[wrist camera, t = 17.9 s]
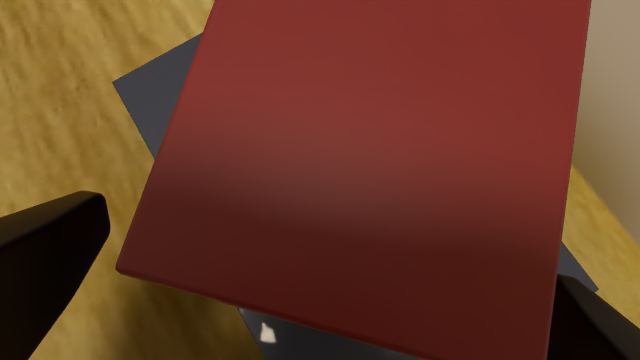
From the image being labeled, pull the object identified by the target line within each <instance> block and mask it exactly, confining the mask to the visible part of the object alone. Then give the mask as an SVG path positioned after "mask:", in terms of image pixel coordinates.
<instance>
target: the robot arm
mask: <svg viewBox="0 0 640 360" xmlns="http://www.w3.org/2000/svg"><path fill="white" fill-rule="evenodd" d="M109 233H110V220H109V215H108V209H107V204H106V200H105V197H104V196H103V195H102V194H100V193H96V192H90V191H79V192H76V193H73V194H70V195H67V196H64V197H61V198H58V199H55V200H52V201H49V202H46V203H43V204H40V205H37V206H34V207H31V208H28V209H25V210H22V211H19V212H16V213H13V214H10V215H7V216H4V217H1V218H0V360H28V359H29V358H30V356H31V355H32V354H33V352H34V351H35V349H36V348H37V347H38V345H39V344H40V343H41V341H42V340H43V338H44V337H45V336H46V334H47V333H48V332H49V330H50V329H51V327H52V326H53V325H54V323H55V322H56V321H57V319H58V318H59V316H60V315H61V314H62V312H63V311H64V310H65V308H66V307H67V305H68V304H69V302H70V301H71V299H72V298H73V296H74V295H75V293H76V291H77V290H78V288H79V286H80V285H81V283H82V281H83V280H84V278H85V276H86V274H87V273H88V271H89V269H90V267H91V266H92V264H93V262H94V261H95V259H96V257H97V255H98V254H99V252H100V250H101V248H102V247H103V245H104V243H105V242H106V240H107V238H108V236H109ZM547 360H640V329H639V328H638V327H637V326H635V325H634V324H633V323H632V322H630V321H629V320H628V319H627V318H625V317H624V316H623V315H622V314H620V313H619V312H618V311H617V310H615V309H614V308H613V307H612V306H610V305H609V304H608V303H607V302H605V301H604V300H603V299H602V298H600V297H599V296H598V295H597V294H595V293H594V292H593V291H592V290H590V289H589V288H588V287H587V286H585V285H584V284H583V283H582V282H580V281H579V280H578V279H577V278H575V277H572V276H567V275H562V274H557V280H556V288H555V296H554V304H553V312H552V320H551V328H550V336H549V344H548V352H547Z"/></svg>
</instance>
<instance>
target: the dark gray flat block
mask: <svg viewBox="0 0 640 360" xmlns="http://www.w3.org/2000/svg"><path fill="white" fill-rule="evenodd" d="M202 34H203V33H201V34H199V35H197V36H195V37H193V38H192V39H190V40H188V41H186V42H184V43H183V44H181V45H179V46H177V47H175V48H173V49H172V50H170V51H168V52H166V53H164V54H162V55H161V56H159V57H157V58H155V59H153V60H152V61H150V62H148V63H146V64H144V65H142V66H141V67H139V68H137V69H135V70H133V71H131V72H130V73H128V74H126V75H124V76H122V77H120V78H119V79H117V80H115V81H113V82H112V83H113V85H114V87H115V89H116V90H117V92H118V94H119V96H120V98H121V99H122V101H123V103H124V105H125V107H126V108H127V110H128V112H129V114H130V116H131V117H132V119H133V121H134V123H135V125H136V126H137V128H138V130H139V132H140V134H141V135H142V137H143V139H144V141H145V143H146V144H147V146H148V148H149V150H150V152H151V154H152V155H153V157H154V159H156V156H157V154H158V151H159V148H160V146H161V143H162V140H163V138H164V135H165V132H166V130H167V127H168V124H169V122H170V119H171V116H172V114H173V111H174V108H175V106H176V103H177V100H178V98H179V95H180V92H181V90H182V87H183V84H184V82H185V79H186V76H187V74H188V71H189V68H190V66H191V63H192V60H193V58H194V55H195V52H196V50H197V47H198V44H199V42H200V39H201V36H202ZM557 274H562V275H567V276H572V277H575V278H577V279H578V280H579V281H580V282H582V283H583V284H584V285H585V286H587V287H588V288H589V289H590V290H592V291H593V292H594V293H595V292H596V291H597V290H598V287H597V286H596V285H595V284H594V282H593V281H592V280H591V278H590V277H589V276H588V275H587V273H586V272H585V271H584V269H583V268H582V267H581V266H580V264H579V263H578V262H577V260H576V259H575V258H574V257H573V255H572V254H571V253H570V251H569V250H568V249H567V248H566V246H565V245H564V244H563V242H562V241H561V248H560V256H559V264H558V272H557ZM237 309H238V311H239V312H240V314H241V316H242V318H243V320H244V321H245V323H246V325H247V327H248V329H249V330H250V332H251V334H252V336H253V338H254V339H255V341H256V343H257V345H258V347H259V348H260V350H261V352H262V354H263V356H264V357H265V359H266V360H422V359H419V358H415V357H412V356H408V355H405V354H401V353H398V352H394V351H391V350H387V349H383V348H380V347H376V346H373V345H369V344H366V343H362V342H359V341H355V340H352V339H348V338H345V337H341V336H338V335H334V334H330V333H327V332H323V331H320V330H316V329H313V328H309V327H306V326H302V325H299V324H295V323H292V322H288V321H284V320H281V319H277V318H274V317H270V316H267V315H263V314H260V313H256V312H253V311H249V310H246V309H242V308H239V307H237Z"/></svg>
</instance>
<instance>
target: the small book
mask: <svg viewBox="0 0 640 360" xmlns="http://www.w3.org/2000/svg"><path fill="white" fill-rule="evenodd" d="M590 8H591V0H215V2H214V4H213V7H212V10H211V12H210V15H209V18H208V20H207V23H206V26H205V28H204V31H203V34H202V36H201V39H200V42H199V44H198V47H197V50H196V52H195V55H194V58H193V60H192V63H191V66H190V68H189V71H188V74H187V76H186V79H185V82H184V84H183V87H182V90H181V92H180V95H179V98H178V100H177V103H176V106H175V108H174V111H173V114H172V116H171V119H170V122H169V124H168V127H167V130H166V132H165V135H164V138H163V140H162V143H161V146H160V148H159V151H158V154H157V156H156V159H155V162H154V164H153V167H152V170H151V172H150V175H149V178H148V180H147V183H146V186H145V188H144V191H143V194H142V196H141V199H140V202H139V204H138V207H137V210H136V212H135V215H134V218H133V220H132V223H131V226H130V228H129V231H128V234H127V236H126V239H125V242H124V244H123V247H122V250H121V252H120V255H119V258H118V260H117V263H116V270H117V271H118V272H119V273H120V274H122V275H125V276H129V277H132V278H136V279H140V280H143V281H147V282H150V283H154V284H157V285H161V286H164V287H168V288H171V289H175V290H178V291H182V292H185V293H189V294H193V295H196V296H200V297H203V298H207V299H210V300H214V301H217V302H221V303H224V304H228V305H231V306H235V307H239V308H242V309H246V310H249V311H253V312H256V313H260V314H263V315H267V316H270V317H274V318H277V319H281V320H284V321H288V322H292V323H295V324H299V325H302V326H306V327H309V328H313V329H316V330H320V331H323V332H327V333H330V334H334V335H338V336H341V337H345V338H348V339H352V340H355V341H359V342H362V343H366V344H369V345H373V346H376V347H380V348H383V349H387V350H391V351H394V352H398V353H401V354H405V355H408V356H412V357H415V358H419V359H422V360H547V352H548V344H549V336H550V328H551V320H552V312H553V304H554V296H555V288H556V280H557V272H558V264H559V256H560V248H561V240H562V232H563V224H564V216H565V208H566V200H567V192H568V184H569V176H570V168H571V160H572V152H573V143H574V136H575V128H576V120H577V112H578V104H579V96H580V88H581V80H582V72H583V64H584V56H585V48H586V40H587V31H588V24H589V16H590Z"/></svg>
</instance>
